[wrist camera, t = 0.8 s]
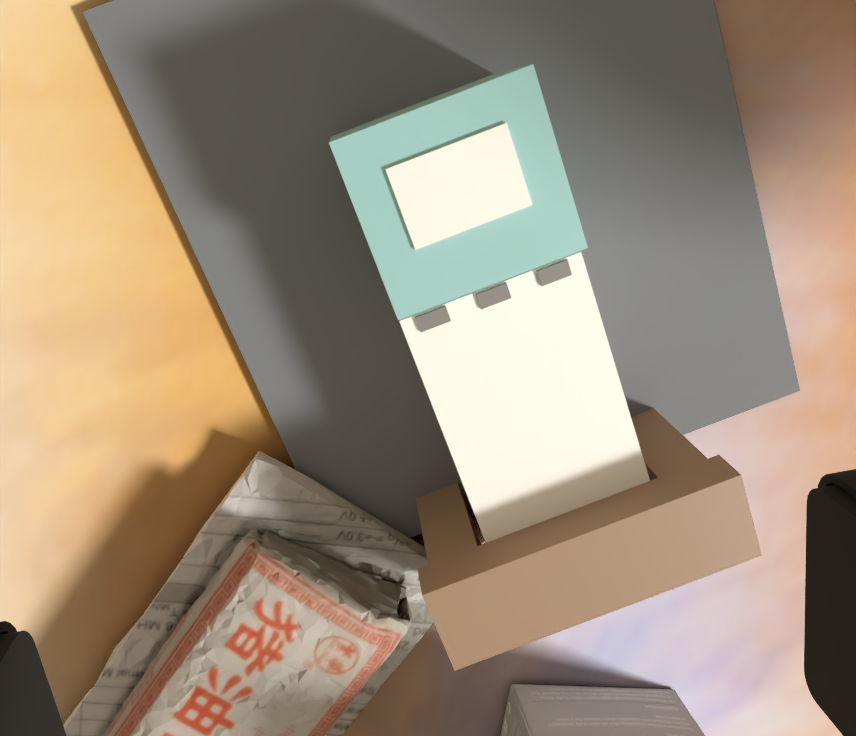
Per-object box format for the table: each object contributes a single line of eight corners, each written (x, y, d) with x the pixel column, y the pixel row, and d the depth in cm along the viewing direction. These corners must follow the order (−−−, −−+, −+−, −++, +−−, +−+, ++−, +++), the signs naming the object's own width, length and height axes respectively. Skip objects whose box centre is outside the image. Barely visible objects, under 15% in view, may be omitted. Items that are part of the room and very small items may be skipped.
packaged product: (220, 952, 33) (-14, 867, 30) (234, 847, 37) (31, 764, 34) (484, 632, 29) (245, 501, 26) (463, 559, 34) (258, 441, 31)
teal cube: (493, 73, 28) (534, 63, 22) (540, 221, 29) (589, 248, 24) (330, 136, 28) (328, 142, 22) (386, 280, 29) (398, 321, 24)
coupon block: (606, 204, 29) (678, 229, 23) (684, 480, 33) (764, 565, 27) (326, 311, 30) (322, 365, 23) (436, 573, 33) (458, 679, 27)
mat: (661, -210, 26) (666, -215, 26) (794, 387, 33) (799, 390, 33) (86, 13, 26) (82, 11, 26) (339, 559, 33) (339, 564, 33)
